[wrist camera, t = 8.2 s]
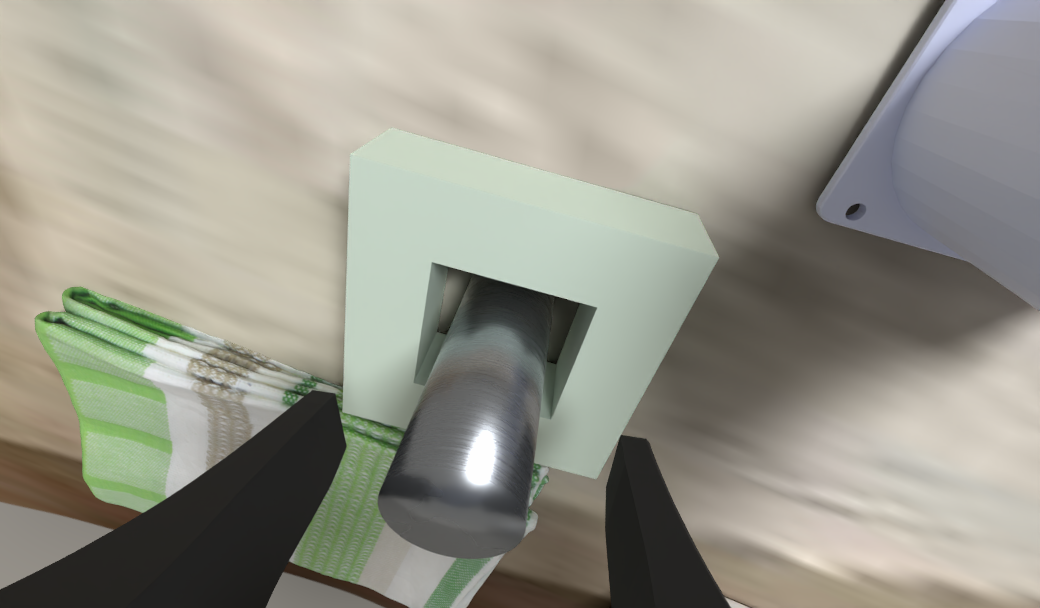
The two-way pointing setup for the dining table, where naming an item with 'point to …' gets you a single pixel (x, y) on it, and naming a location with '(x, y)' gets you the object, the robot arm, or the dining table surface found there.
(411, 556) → the dish towel
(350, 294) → the socket
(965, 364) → the dining table surface
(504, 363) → the peg
